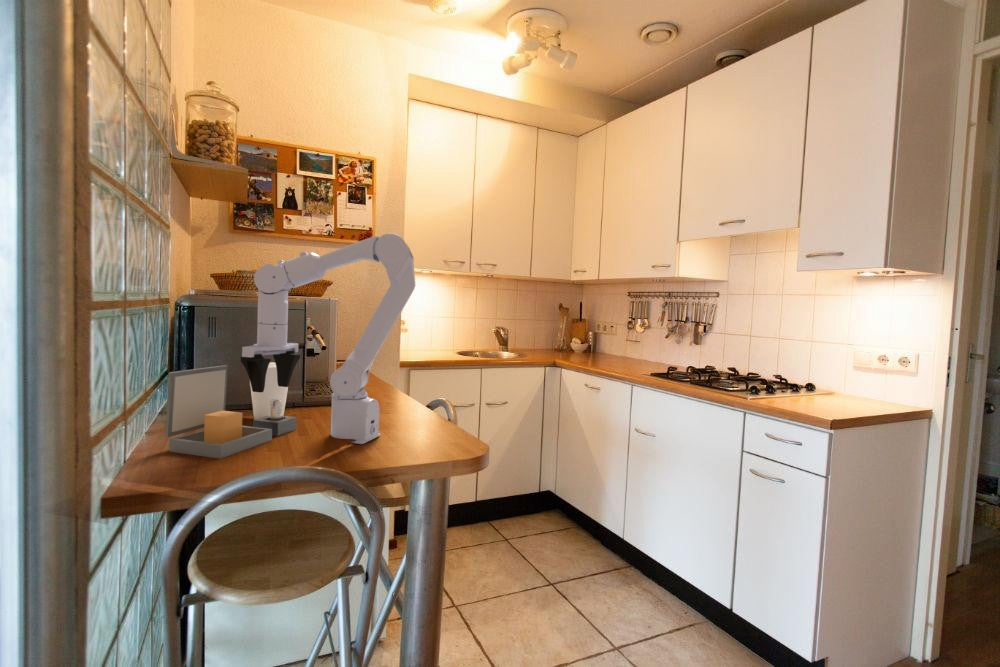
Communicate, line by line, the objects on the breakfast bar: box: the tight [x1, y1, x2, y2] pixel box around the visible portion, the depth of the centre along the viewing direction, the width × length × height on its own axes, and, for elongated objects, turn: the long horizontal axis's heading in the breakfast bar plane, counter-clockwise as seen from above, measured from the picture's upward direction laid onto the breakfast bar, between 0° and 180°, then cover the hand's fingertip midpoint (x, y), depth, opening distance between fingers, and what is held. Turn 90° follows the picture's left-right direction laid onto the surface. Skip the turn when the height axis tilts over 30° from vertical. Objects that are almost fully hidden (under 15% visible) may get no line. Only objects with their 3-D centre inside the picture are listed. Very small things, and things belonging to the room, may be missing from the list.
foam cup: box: [249, 362, 289, 420], centre depth 120 cm, size 10×9×13 cm
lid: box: [164, 364, 229, 438], centre depth 95 cm, size 12×13×1 cm
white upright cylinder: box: [269, 399, 282, 421], centre depth 106 cm, size 2×2×7 cm
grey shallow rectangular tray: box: [168, 425, 273, 460], centre depth 94 cm, size 11×13×3 cm
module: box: [203, 410, 243, 444], centre depth 94 cm, size 4×4×6 cm
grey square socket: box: [252, 415, 297, 437], centre depth 106 cm, size 6×6×4 cm
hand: (271, 389), depth 105 cm, fingers open, 7 cm apart
